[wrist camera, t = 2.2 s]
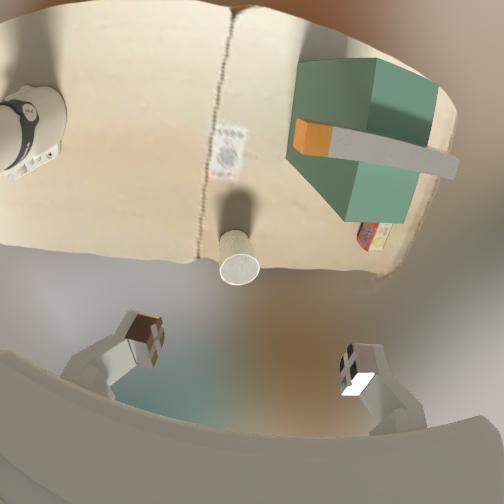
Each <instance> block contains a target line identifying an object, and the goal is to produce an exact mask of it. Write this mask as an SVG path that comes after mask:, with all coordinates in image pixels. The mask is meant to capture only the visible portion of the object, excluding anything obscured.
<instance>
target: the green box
mask: <svg viewBox="0 0 504 504" xmlns="http://www.w3.org/2000/svg"><path fill="white" fill-rule="evenodd" d="M438 87H439V85H437V84H436V83H434V82H432V81H430V80H428V79H426V78H424V77H422V76H420V75H417V74H415V73H413V72H411V71H409V70H406V69H404V68H402V67H399V66H397V65H394V64H392V63H389V62H387V61H384V60H382V59H379V58H344V59H329V60H317V61H308V62H300V63H298V67H297V75H296V84H295V92H294V100H293V108H292V116H291V124H290V132H289V139H288V147H287V154H286V159H287V160H288V161H289V162H290V163H291V164H292V165H293V166H294V167H295V168H296V169H297V171H298V172H299V173H300V174H301V175H302V176H303V177H304V178H305V179H306V180H307V181H308V182H309V183H310V184H311V185H312V186H313V187H314V188H315V190H316V191H317V192H318V193H319V194H320V195H321V196H322V197H323V198H324V199H325V200H326V202H327V203H328V204H329V205H330V206H331V207H332V208H333V209H334V210H335V212H336V213H337V214H338V215H339V216H340V217H341V218H342V220H343V221H344V222H373V223H401V224H404V221H405V218H406V215H407V212H408V210H409V207H410V204H411V201H412V197H413V194H414V191H415V188H416V185H417V181H418V178H419V174H420V172H416V171H412V170H407V169H402V168H396V167H391V166H385V165H380V164H374V163H367V162H361V161H354V160H346V159H339V158H330V157H322V156H312V155H303V154H301V153H300V152H299V151H298V150H297V149H295V148H294V147H293V142H294V135H295V127H296V120H297V118H302V119H309V120H316V121H323V122H329V123H335V124H341V125H346V126H351V127H356V128H361V129H366V130H370V131H375V132H379V133H383V134H387V135H391V136H395V137H399V138H403V139H406V140H410V141H413V142H417V143H420V144H423V145H427V144H428V140H429V135H430V131H431V126H432V121H433V116H434V111H435V106H436V100H437V94H438Z"/></svg>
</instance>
